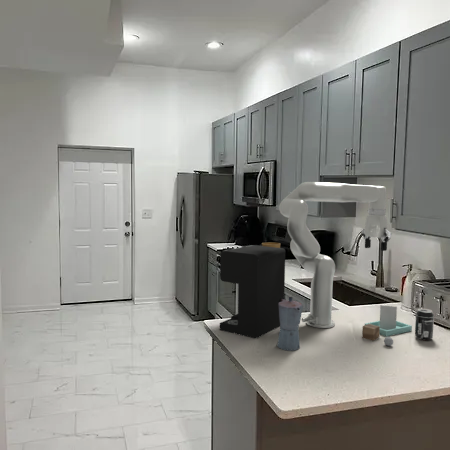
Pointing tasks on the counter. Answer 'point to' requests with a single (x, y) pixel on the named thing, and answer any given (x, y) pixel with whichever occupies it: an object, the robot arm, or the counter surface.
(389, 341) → the grey ball
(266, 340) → the counter surface
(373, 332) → the walnut block
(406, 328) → the tray
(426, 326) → the beverage can
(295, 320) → the moka pot
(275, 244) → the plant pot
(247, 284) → the coffee maker
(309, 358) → the counter surface
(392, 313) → the white box
